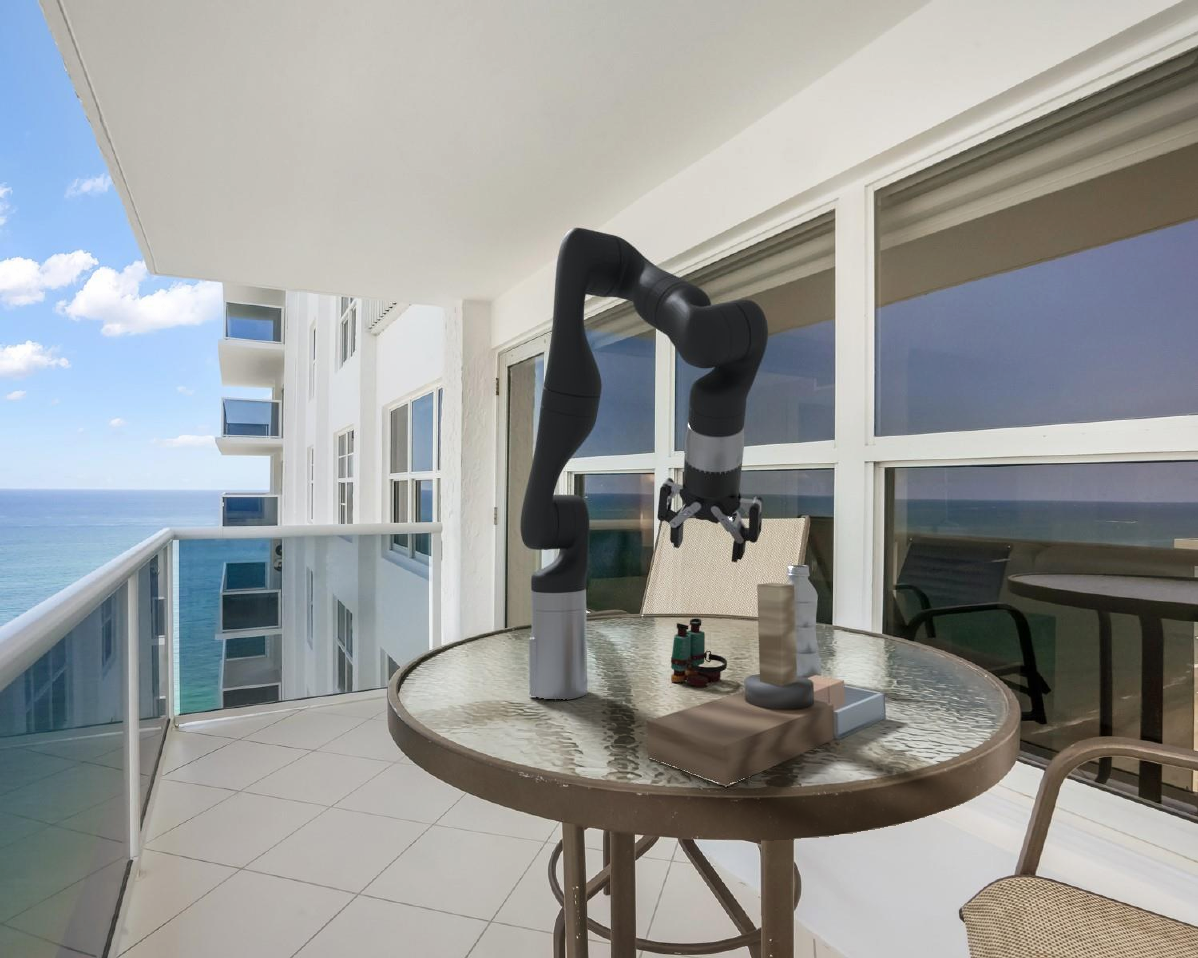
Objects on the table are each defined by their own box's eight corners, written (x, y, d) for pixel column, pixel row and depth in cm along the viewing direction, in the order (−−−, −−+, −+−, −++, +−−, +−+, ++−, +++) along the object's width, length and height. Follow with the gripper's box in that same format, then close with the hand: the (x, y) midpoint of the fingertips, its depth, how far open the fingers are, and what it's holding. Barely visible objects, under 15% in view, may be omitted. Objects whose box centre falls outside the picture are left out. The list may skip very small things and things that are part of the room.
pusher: (789, 714, 83) (785, 589, 84) (731, 700, 90) (728, 584, 91) (827, 700, 89) (823, 583, 90) (770, 687, 96) (766, 579, 96)
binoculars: (714, 633, 111) (664, 621, 117) (710, 696, 111) (660, 681, 117) (739, 625, 118) (691, 615, 124) (735, 684, 118) (687, 671, 124)
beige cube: (829, 686, 94) (844, 680, 97) (800, 680, 97) (815, 675, 100) (830, 718, 94) (845, 711, 97) (801, 711, 97) (816, 705, 100)
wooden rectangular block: (726, 787, 72) (725, 745, 72) (647, 758, 81) (647, 720, 81) (834, 739, 87) (833, 704, 87) (757, 718, 96) (756, 686, 96)
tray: (838, 739, 87) (837, 712, 87) (755, 717, 96) (755, 693, 97) (885, 718, 95) (884, 693, 95) (805, 699, 105) (804, 677, 105)
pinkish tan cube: (813, 725, 90) (812, 692, 91) (783, 718, 94) (782, 686, 94) (829, 718, 94) (828, 686, 94) (800, 711, 97) (799, 680, 97)
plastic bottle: (824, 684, 114) (820, 567, 115) (783, 682, 116) (779, 567, 117) (819, 674, 121) (815, 564, 122) (780, 673, 122) (777, 564, 123)
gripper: (774, 451, 87) (761, 548, 96) (671, 432, 92) (668, 525, 101) (761, 480, 81) (749, 580, 90) (652, 458, 86) (650, 555, 95)
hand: (706, 551), depth 95 cm, fingers open, 8 cm apart
